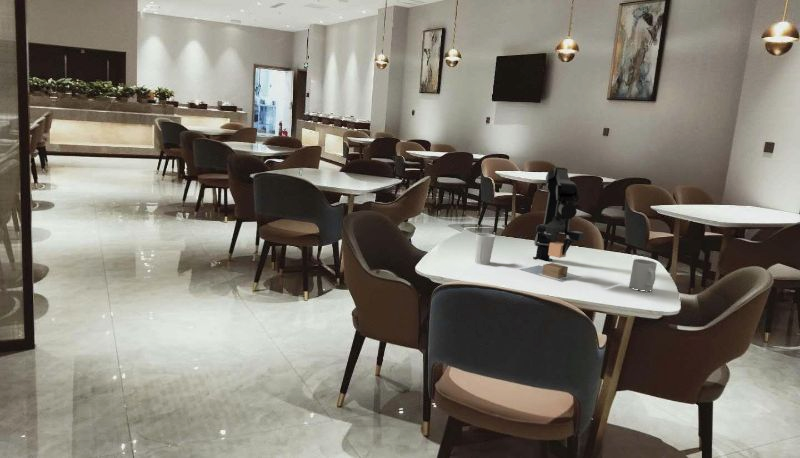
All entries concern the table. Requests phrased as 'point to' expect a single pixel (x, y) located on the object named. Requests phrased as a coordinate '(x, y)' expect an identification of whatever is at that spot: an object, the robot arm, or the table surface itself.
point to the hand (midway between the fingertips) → (557, 253)
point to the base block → (554, 270)
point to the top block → (556, 249)
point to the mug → (643, 274)
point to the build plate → (538, 271)
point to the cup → (484, 248)
